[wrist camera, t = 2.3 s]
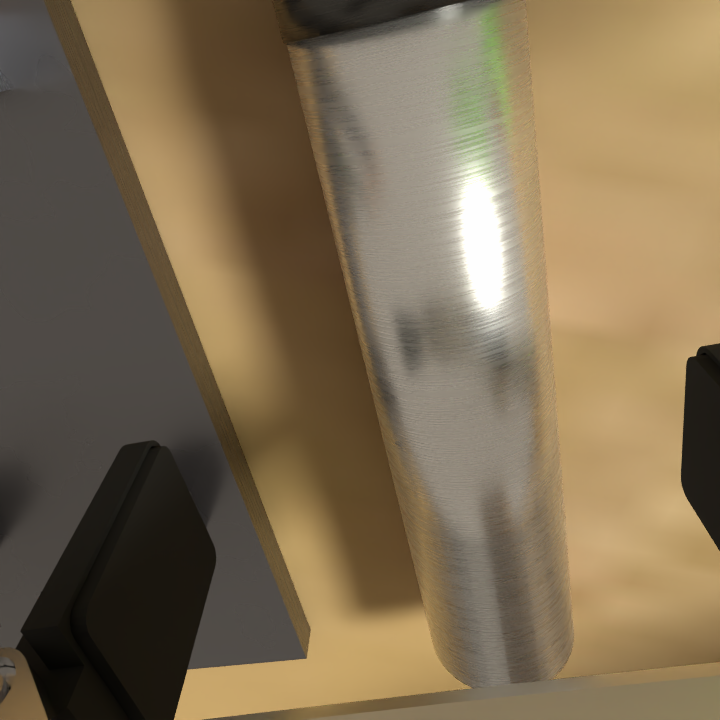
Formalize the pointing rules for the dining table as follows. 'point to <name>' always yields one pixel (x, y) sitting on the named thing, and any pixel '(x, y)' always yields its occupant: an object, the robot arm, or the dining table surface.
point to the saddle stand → (107, 351)
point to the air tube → (449, 305)
